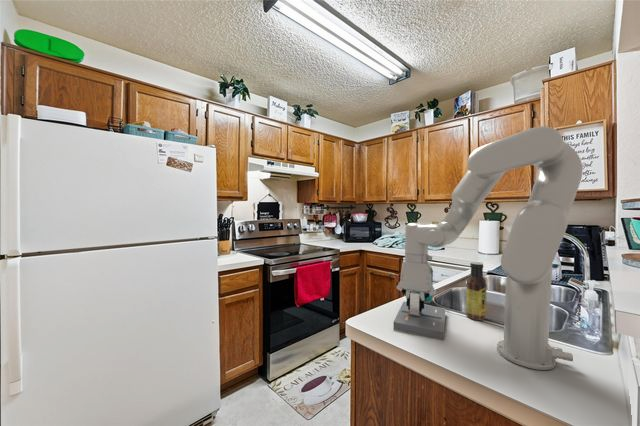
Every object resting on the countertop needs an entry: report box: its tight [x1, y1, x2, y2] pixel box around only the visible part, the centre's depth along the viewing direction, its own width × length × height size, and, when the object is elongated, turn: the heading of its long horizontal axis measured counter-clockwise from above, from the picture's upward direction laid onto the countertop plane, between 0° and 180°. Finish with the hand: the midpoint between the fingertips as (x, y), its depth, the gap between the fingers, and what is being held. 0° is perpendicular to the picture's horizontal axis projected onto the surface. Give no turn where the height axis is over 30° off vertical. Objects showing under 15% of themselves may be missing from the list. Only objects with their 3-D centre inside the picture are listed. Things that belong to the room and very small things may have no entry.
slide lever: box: [408, 290, 422, 316], centre depth 92 cm, size 4×5×8 cm
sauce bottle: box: [465, 261, 487, 321], centre depth 95 cm, size 6×6×20 cm
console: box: [393, 301, 446, 341], centre depth 92 cm, size 15×20×3 cm
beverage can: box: [424, 266, 434, 304], centre depth 110 cm, size 6×6×15 cm
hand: (415, 308), depth 93 cm, fingers closed on slide lever, 3 cm apart
